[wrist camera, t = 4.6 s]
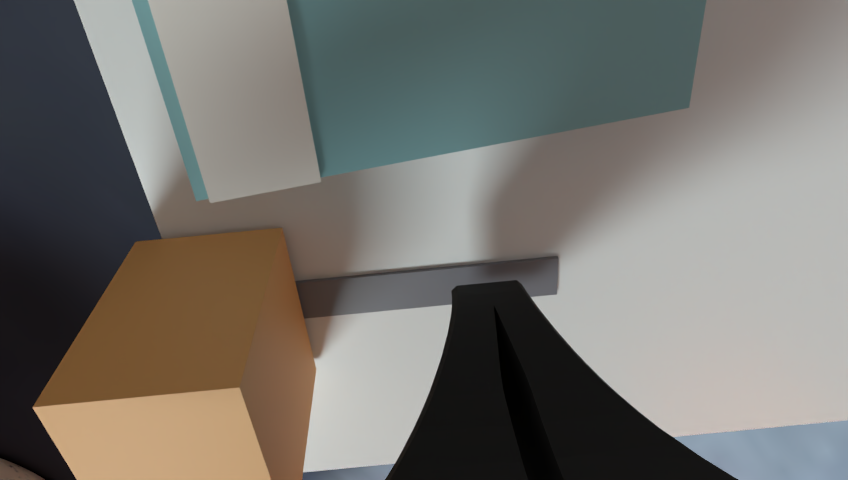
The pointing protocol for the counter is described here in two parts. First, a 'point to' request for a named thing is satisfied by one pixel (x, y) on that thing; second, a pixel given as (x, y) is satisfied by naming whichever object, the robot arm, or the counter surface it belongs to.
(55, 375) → the block
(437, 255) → the panel
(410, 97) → the teal flat block
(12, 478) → the teacup with lid
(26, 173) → the counter surface
